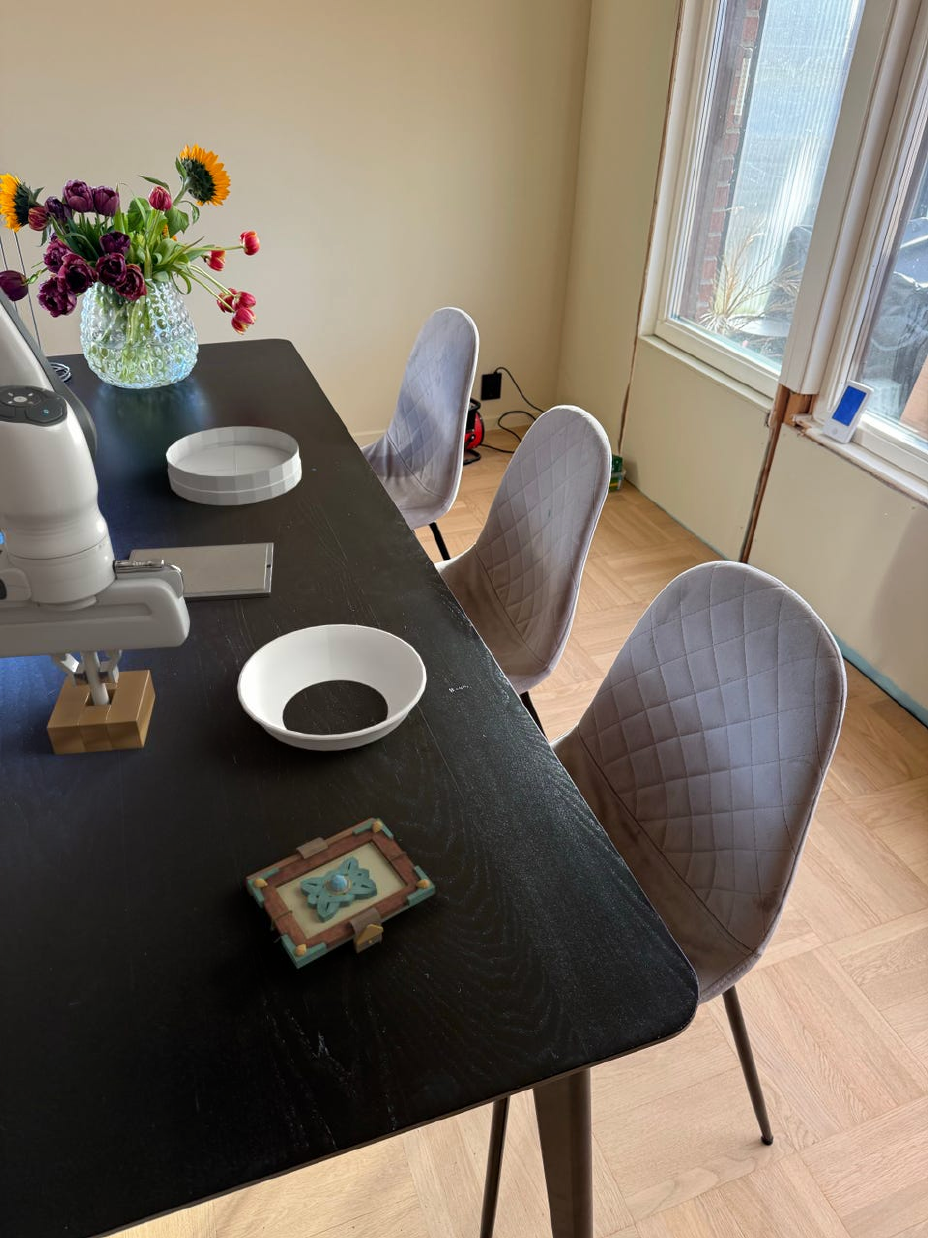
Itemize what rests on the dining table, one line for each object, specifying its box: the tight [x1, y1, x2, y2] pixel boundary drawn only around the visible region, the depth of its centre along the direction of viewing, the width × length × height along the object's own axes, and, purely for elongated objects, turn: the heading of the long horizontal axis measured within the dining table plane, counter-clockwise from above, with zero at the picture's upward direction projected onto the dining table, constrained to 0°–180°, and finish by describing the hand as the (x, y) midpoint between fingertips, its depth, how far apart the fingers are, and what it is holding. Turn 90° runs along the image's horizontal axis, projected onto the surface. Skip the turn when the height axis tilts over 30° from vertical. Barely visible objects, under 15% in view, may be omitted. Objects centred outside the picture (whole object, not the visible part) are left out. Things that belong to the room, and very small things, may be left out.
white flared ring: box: [236, 623, 427, 752], centre depth 92 cm, size 20×20×6 cm
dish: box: [165, 425, 303, 506], centre depth 146 cm, size 22×22×5 cm
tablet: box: [128, 542, 275, 603], centre depth 119 cm, size 20×14×1 cm
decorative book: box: [245, 817, 436, 970], centre depth 70 cm, size 13×18×5 cm
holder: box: [46, 669, 156, 756], centre depth 90 cm, size 9×9×5 cm
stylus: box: [79, 652, 110, 706], centre depth 88 cm, size 2×2×12 cm
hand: (95, 681), depth 88 cm, fingers closed on stylus, 1 cm apart
